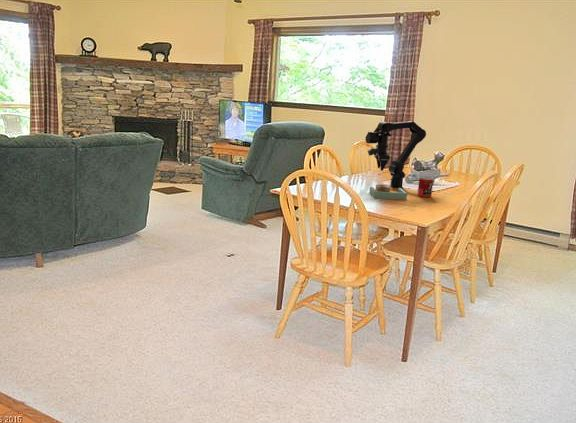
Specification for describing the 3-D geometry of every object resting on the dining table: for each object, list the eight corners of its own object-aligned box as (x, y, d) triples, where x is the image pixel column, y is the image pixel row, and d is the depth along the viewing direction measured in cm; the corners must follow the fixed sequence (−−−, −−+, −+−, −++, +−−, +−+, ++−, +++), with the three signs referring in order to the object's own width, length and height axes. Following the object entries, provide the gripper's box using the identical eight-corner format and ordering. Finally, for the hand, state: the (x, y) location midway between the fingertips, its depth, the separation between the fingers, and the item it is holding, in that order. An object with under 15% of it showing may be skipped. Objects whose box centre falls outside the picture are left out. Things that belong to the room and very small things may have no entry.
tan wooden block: (387, 191, 313) (387, 185, 312) (389, 193, 306) (390, 187, 305) (375, 190, 312) (375, 184, 312) (377, 192, 306) (378, 187, 305)
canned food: (423, 198, 296) (426, 178, 293) (414, 195, 303) (416, 176, 300) (434, 197, 299) (436, 178, 297) (424, 194, 306) (426, 175, 304)
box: (400, 194, 304) (401, 188, 303) (406, 199, 290) (407, 193, 289) (369, 192, 303) (369, 186, 302) (373, 198, 289) (374, 192, 288)
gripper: (366, 141, 324) (364, 166, 328) (371, 144, 306) (369, 171, 310) (384, 141, 324) (382, 167, 328) (391, 145, 306) (388, 172, 310)
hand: (380, 169), depth 319 cm, fingers open, 9 cm apart
